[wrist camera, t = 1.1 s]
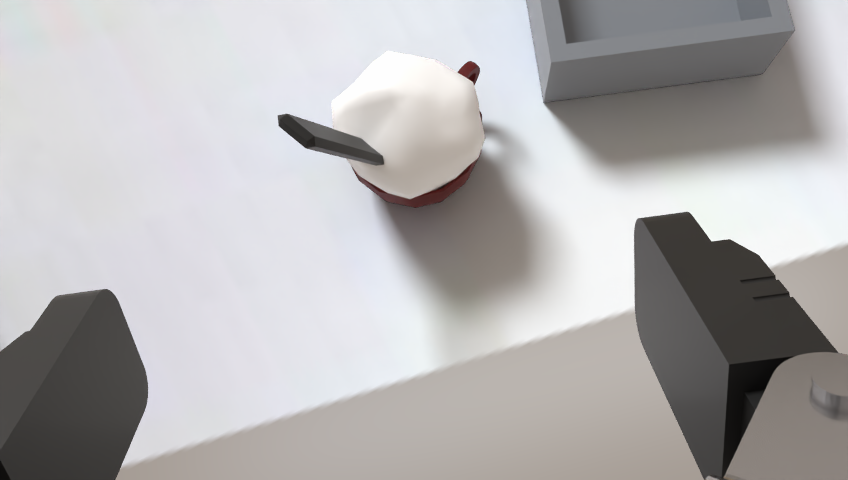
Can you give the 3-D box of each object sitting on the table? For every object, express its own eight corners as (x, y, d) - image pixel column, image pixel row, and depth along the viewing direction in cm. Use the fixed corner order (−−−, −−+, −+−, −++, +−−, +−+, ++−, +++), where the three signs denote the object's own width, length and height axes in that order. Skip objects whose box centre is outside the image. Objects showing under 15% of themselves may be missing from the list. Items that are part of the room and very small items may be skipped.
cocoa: (463, 77, 39) (465, -98, 28) (526, 178, 37) (555, 35, 26) (291, 159, 38) (221, 12, 27) (347, 268, 36) (296, 160, 25)
